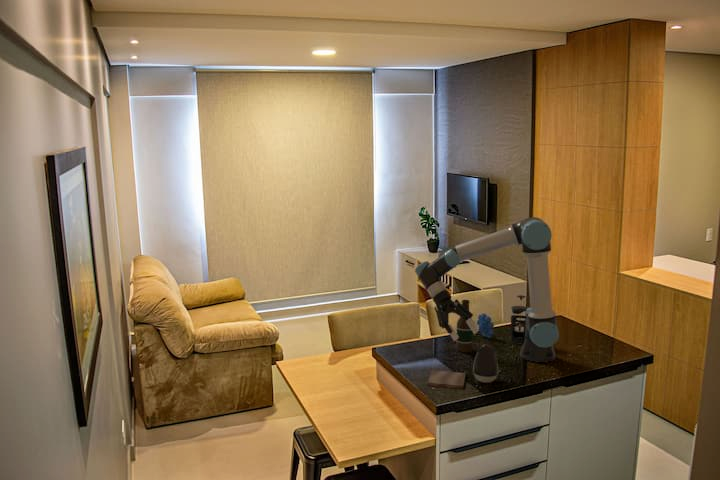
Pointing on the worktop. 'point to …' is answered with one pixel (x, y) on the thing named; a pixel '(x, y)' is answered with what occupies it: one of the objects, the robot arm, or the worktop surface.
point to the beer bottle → (464, 333)
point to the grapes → (485, 325)
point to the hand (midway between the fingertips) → (466, 335)
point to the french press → (517, 330)
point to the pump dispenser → (485, 364)
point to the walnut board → (446, 379)
